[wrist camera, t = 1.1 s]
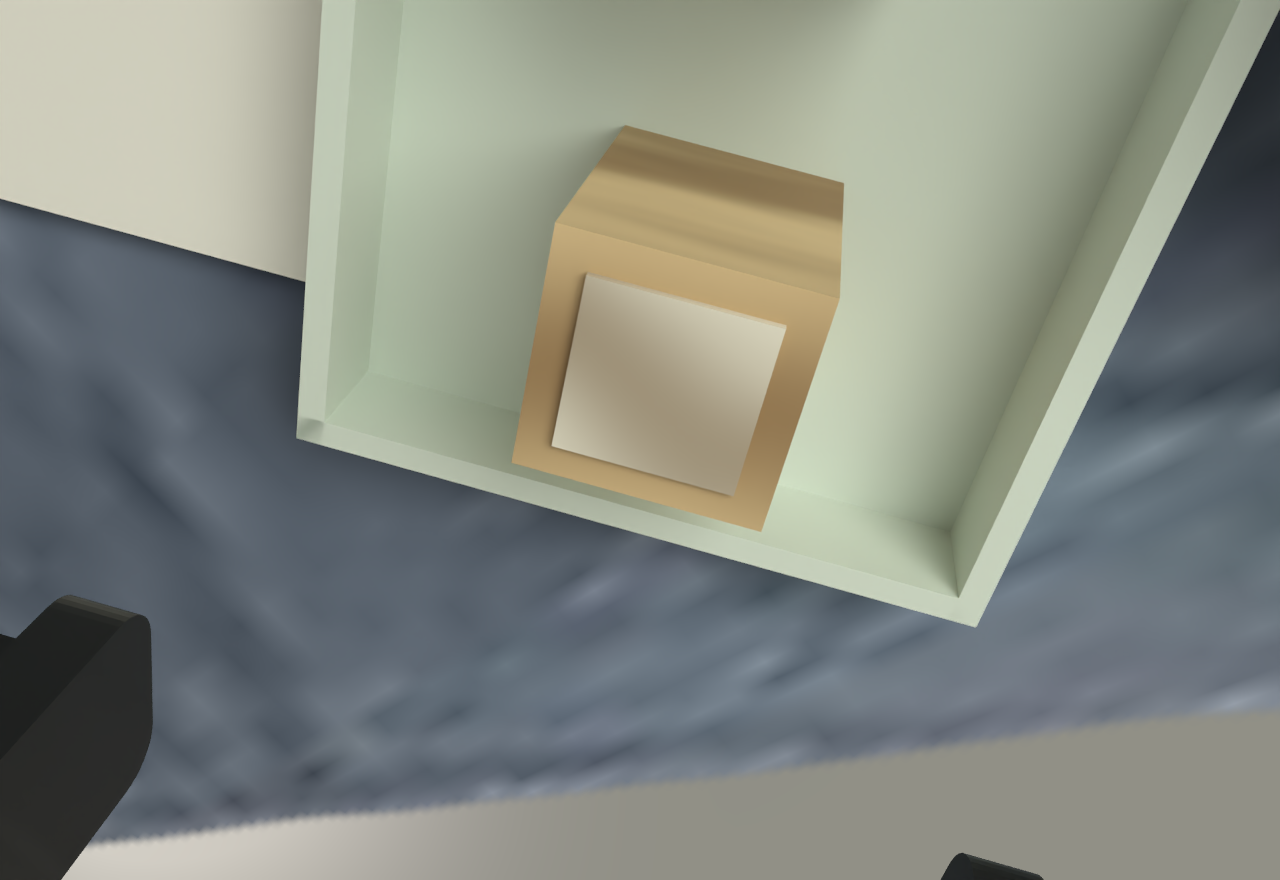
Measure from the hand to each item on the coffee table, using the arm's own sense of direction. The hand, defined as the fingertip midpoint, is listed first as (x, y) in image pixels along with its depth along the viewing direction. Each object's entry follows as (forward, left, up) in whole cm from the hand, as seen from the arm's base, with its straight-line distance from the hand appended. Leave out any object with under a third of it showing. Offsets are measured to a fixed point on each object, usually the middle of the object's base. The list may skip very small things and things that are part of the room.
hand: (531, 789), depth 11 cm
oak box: (0, 0, -15) cm, 15 cm away
